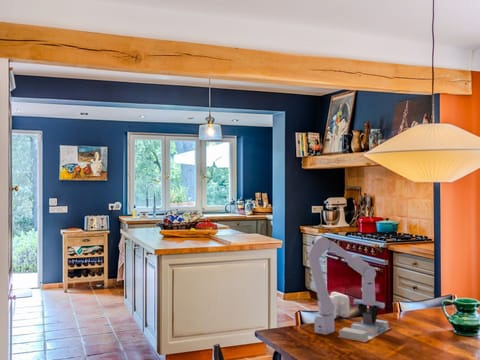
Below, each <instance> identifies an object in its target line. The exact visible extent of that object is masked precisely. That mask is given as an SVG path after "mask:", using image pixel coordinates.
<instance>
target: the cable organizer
mask: <svg viewBox="0 0 480 360" xmlns="http://www.w3.org/2000/svg"><path fill="white" fill-rule="evenodd" d="M329 296H330V300H331V302H332V303H333V304H334V307H335V308H334V311H333V312H334V320H335V319H336V318H337V316H340V317H342V318H344V319H347V318H349V317H350V315H351V314H350V313H351V311H350V297H349V296H348V295H346V294H344V293H340V292H338V291H332V292H330V294H329ZM319 309H320V308H319V307H318V310H319Z"/></svg>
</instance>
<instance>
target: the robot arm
mask: <svg viewBox="0 0 480 360" xmlns="http://www.w3.org/2000/svg"><path fill="white" fill-rule="evenodd" d="M326 251H330V252H334V253H336V254H337V255H338V256H340V257H341V258H343V259H345V260H346V262H347V265H348V266H349V267H350V268H352V269H353V270H354V271H356V272H357V273H359V274H360V275H361V293H362V295H361V296H362V297H361V299H359V298H355V299H353V304H354V305H357V309H358V311H359V313H360V315H361V317H362V318H361V319H363V313H365V312H367V308H368V306H369V307H370V308H371V312H372V322H373V323H375V322H376V319H377V317H378V313H379V312H380V310H381V309H384V308H385V307H386V304H385V302H380V301H377V300H376V286H375V285H376V283H375V278H376V276H377V272H376V269H375V268H374V267H373V266H371V265H370V264H369V263H368V262H367V261H364V260H363V259H361V256H360V255H359V254H358V255H356V254H350V253H349V252H347V250H345V249H344V248H343V247H341V246H340V245H338V244H337V243H336V242H334V241H332V240H330V239H328V238H327V237H325V236H323V235H317V236H315V237H314V238H313V239H312V241H311V242H310V247H309V250H308V253H307V259H308V263H309V267H310V270H311V274H312V275H311V276H312V279H313V282H314V285H315V289H316V296H317V303H316V304H317V307H318V311H317V315H316V316H315V318H314V322H313V324H314V333H315V334H322V335H329V334H332V333H334V332H335V319H334V312H333V311H334V308H335V307H334V304H333V303H332V302H331V300H330V294H329V292H328V291H329V290H328V288H327V283H326V280H325V277H324V272H323V269H322V264H321V262H320V258H321V256H322V255H323V254H324V253H325V252H326ZM319 308H320V309H319Z"/></svg>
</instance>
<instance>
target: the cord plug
mask: <svg viewBox="0 0 480 360" xmlns="http://www.w3.org/2000/svg"><path fill="white" fill-rule="evenodd" d="M362 319H363V323H365V324H371V325H375V323H373V322H372V312H371V307H367V312H365V313H363V318H362Z"/></svg>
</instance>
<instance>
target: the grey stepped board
mask: <svg viewBox="0 0 480 360" xmlns="http://www.w3.org/2000/svg"><path fill="white" fill-rule="evenodd" d="M353 322H354V321H353ZM390 329H391V327H389V321H388V320H383V319H377V318H376V322H375V325H371V324H365V323H363V318H361V320H360V321H359V322H358V321H355V322H354V323H352V324H351V325H350V327H345V326H344V327H343V328H341V329H339V330H338V333H339V335H338V336H337V337H338V338H343V339H348V340H353V341H358V342H363V343H366V342H368V341H369V340H371V339H374V338H376V337H377V336H379V335H380V334H383V333H384V332H386V331H388V330H390Z"/></svg>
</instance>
